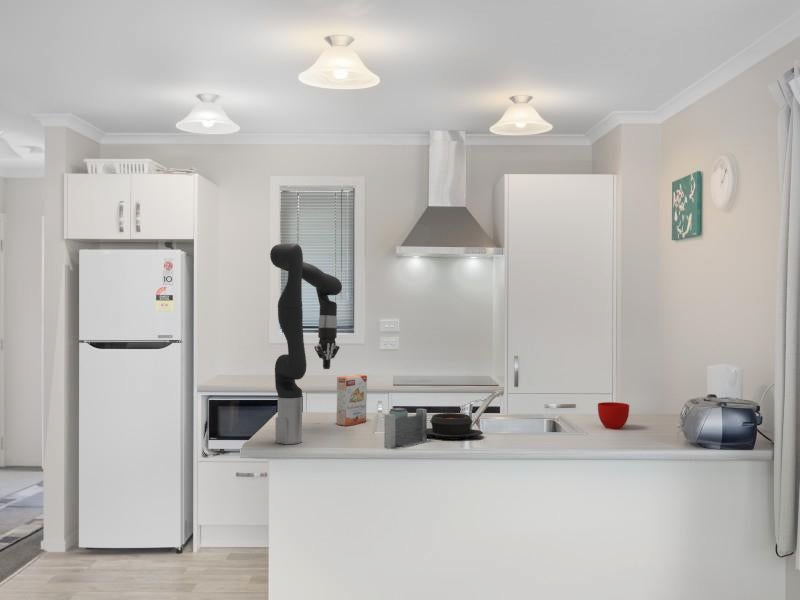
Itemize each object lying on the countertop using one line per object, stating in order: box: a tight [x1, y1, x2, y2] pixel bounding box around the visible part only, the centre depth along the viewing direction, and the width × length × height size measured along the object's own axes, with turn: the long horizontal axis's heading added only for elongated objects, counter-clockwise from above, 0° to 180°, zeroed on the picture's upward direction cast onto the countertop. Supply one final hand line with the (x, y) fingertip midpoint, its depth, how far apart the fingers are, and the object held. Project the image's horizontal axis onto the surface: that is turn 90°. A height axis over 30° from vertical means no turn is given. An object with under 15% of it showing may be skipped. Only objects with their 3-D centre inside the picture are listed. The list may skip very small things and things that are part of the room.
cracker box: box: [336, 374, 368, 427], centre depth 332 cm, size 14×6×21 cm, turn 143°
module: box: [388, 407, 409, 419], centre depth 290 cm, size 5×5×13 cm
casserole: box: [427, 412, 484, 440], centre depth 302 cm, size 25×19×8 cm
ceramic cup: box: [597, 401, 630, 430], centre depth 326 cm, size 13×17×10 cm
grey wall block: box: [383, 408, 429, 449], centre depth 286 cm, size 21×6×12 cm, turn 139°
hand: (326, 368), depth 312 cm, fingers closed
